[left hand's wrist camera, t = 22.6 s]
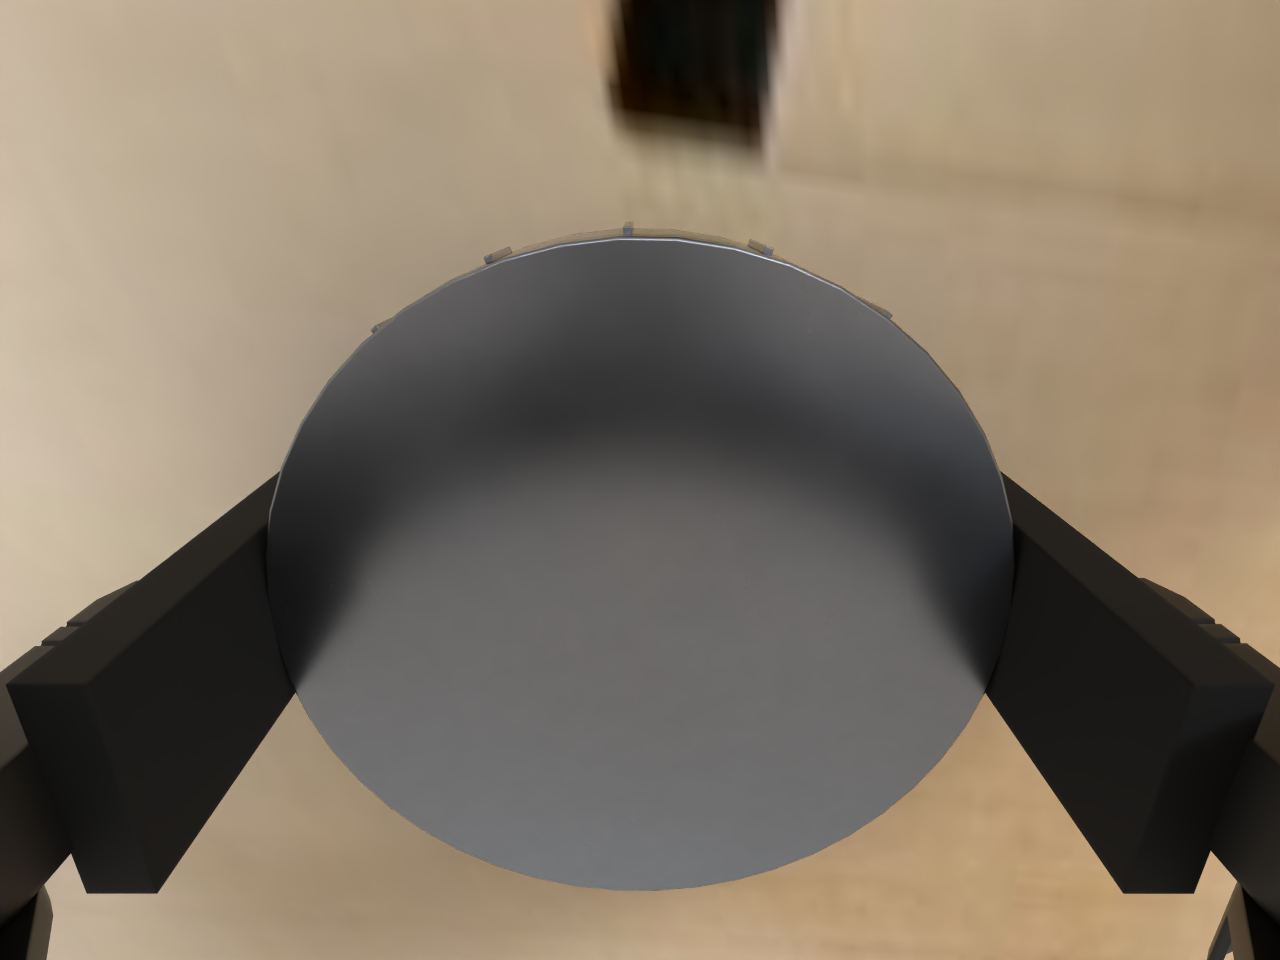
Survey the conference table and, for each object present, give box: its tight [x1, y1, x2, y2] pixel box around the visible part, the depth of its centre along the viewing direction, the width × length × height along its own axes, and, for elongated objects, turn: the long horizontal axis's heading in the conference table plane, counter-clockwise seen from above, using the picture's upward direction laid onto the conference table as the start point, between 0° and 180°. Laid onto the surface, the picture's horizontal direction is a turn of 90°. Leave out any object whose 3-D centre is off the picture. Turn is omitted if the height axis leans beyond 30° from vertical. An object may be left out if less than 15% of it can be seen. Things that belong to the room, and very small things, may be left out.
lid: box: [265, 222, 1015, 891], centre depth 11 cm, size 10×10×2 cm
